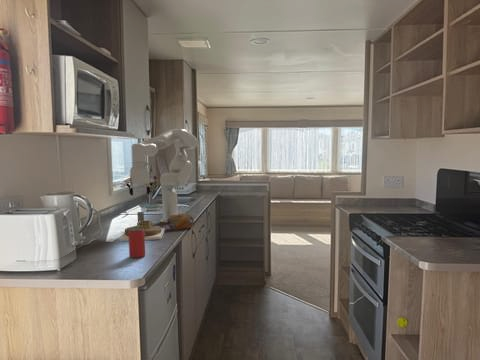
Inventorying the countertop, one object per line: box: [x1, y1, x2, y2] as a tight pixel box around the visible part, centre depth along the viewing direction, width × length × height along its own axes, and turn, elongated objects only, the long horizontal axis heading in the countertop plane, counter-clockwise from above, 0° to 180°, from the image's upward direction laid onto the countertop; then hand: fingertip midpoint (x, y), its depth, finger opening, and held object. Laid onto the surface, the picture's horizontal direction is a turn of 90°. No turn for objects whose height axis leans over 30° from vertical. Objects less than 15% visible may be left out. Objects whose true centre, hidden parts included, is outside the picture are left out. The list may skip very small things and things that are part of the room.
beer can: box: [128, 228, 146, 259], centre depth 153 cm, size 7×7×12 cm
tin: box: [167, 213, 194, 230], centre depth 209 cm, size 15×3×8 cm, turn 105°
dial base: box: [118, 227, 166, 242], centre depth 192 cm, size 21×21×2 cm
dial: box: [124, 220, 162, 236], centre depth 192 cm, size 19×19×4 cm
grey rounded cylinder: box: [136, 211, 145, 223], centre depth 208 cm, size 4×4×10 cm
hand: (140, 194), depth 207 cm, fingers open, 9 cm apart
